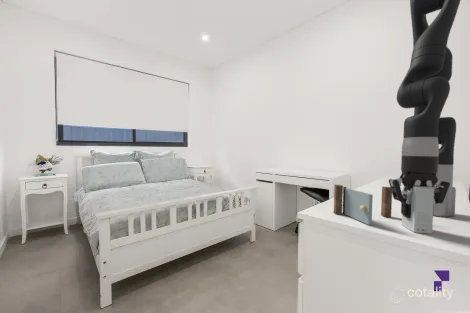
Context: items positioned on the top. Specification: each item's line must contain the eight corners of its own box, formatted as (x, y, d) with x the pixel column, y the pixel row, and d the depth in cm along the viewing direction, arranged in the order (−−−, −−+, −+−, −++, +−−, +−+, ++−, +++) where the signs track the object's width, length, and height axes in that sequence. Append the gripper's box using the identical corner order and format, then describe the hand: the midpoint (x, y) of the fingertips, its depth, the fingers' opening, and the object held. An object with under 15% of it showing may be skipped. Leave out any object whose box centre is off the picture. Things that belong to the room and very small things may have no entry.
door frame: (387, 215, 70) (388, 186, 70) (391, 217, 68) (392, 187, 68) (333, 212, 73) (334, 184, 73) (335, 214, 71) (336, 185, 71)
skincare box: (433, 234, 55) (435, 187, 54) (414, 232, 55) (415, 187, 55) (417, 226, 60) (419, 184, 60) (400, 225, 61) (402, 183, 61)
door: (371, 224, 60) (372, 194, 60) (365, 224, 60) (366, 194, 60) (347, 213, 70) (348, 188, 70) (342, 214, 70) (343, 188, 70)
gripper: (398, 154, 55) (396, 220, 55) (462, 155, 53) (459, 224, 53) (382, 154, 62) (380, 212, 63) (437, 155, 60) (435, 215, 61)
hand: (416, 217), depth 58 cm, fingers closed on skincare box, 4 cm apart
